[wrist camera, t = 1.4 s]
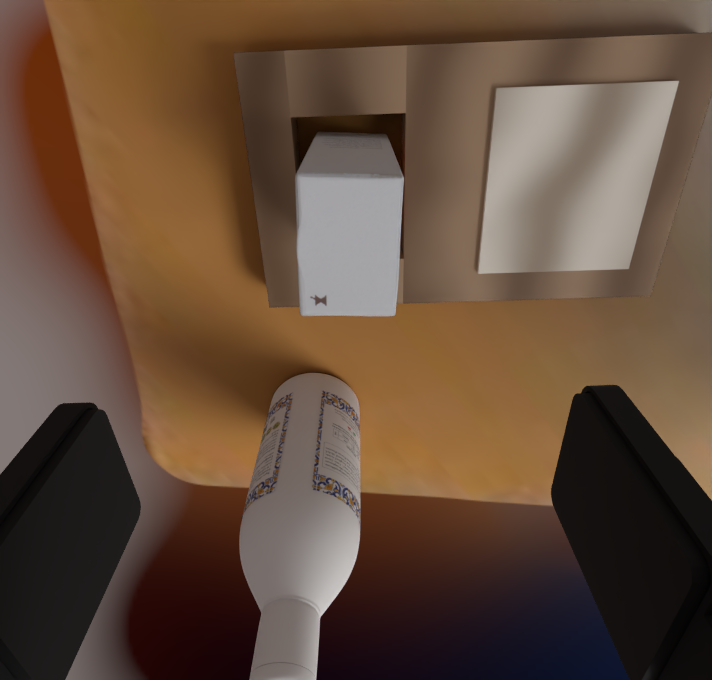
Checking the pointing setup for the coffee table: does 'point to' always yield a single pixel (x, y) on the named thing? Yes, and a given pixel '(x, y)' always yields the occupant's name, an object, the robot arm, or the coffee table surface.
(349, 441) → the bath foam
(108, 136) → the coffee table surface
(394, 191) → the skincare box
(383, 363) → the coffee table surface
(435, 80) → the walnut frame
